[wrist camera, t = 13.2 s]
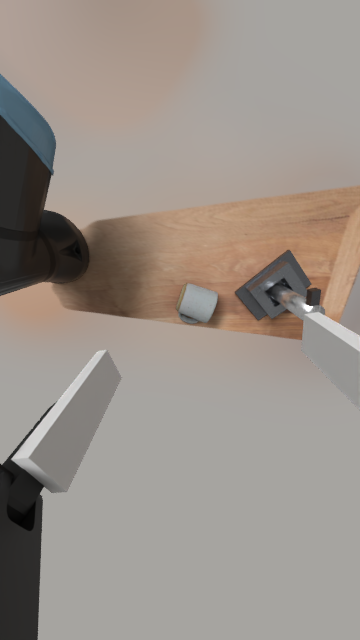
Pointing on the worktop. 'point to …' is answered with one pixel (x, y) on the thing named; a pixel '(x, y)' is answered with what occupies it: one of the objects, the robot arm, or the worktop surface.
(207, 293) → the ceramic mug
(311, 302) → the t key
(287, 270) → the chuck block
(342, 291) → the worktop surface
